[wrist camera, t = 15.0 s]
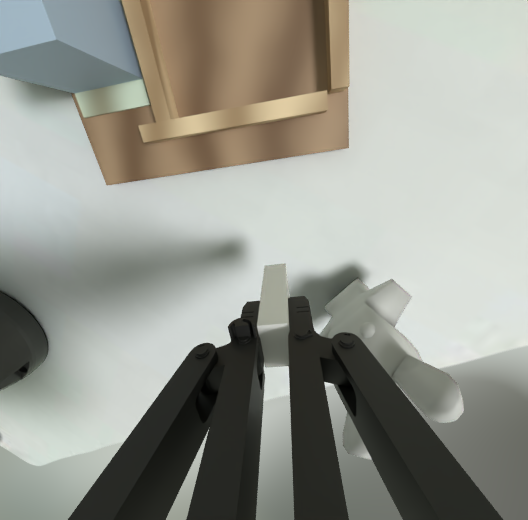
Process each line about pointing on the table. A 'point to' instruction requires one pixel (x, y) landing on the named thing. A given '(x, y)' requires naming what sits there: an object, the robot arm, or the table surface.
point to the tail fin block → (66, 44)
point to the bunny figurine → (390, 353)
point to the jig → (223, 87)
